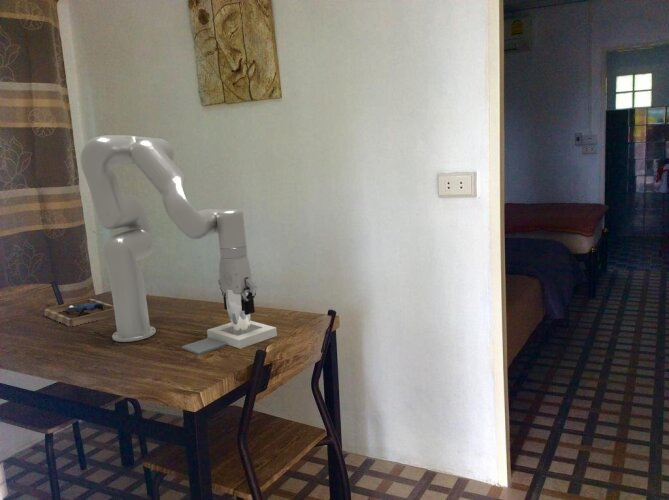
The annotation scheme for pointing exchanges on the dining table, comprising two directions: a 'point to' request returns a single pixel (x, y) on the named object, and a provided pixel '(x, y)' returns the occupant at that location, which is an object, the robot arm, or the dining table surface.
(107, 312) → the frame
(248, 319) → the beer glass
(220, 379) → the dining table surface
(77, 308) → the person figurine
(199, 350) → the coaster
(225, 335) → the holder board
